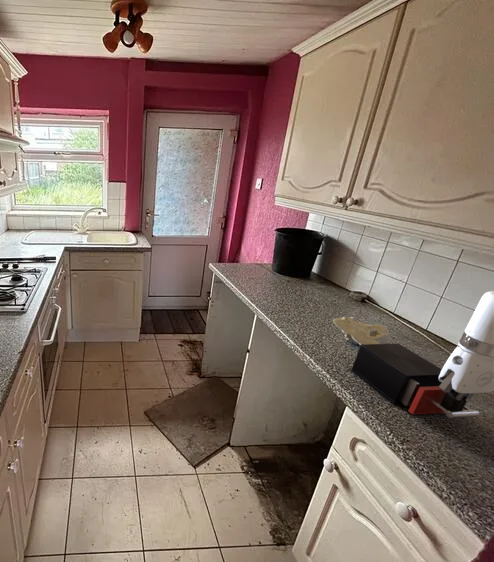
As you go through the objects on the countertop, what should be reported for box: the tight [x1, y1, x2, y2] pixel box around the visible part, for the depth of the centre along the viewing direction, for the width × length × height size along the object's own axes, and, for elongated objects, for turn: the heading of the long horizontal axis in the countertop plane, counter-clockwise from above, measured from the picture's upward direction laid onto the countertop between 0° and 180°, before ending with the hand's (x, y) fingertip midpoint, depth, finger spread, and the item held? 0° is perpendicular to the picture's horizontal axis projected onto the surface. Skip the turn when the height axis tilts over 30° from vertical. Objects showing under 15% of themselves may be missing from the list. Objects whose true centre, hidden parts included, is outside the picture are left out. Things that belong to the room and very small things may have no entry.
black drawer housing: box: [351, 343, 442, 406], centre depth 89 cm, size 15×13×10 cm
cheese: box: [332, 316, 391, 346], centre depth 110 cm, size 15×7×15 cm
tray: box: [398, 377, 480, 419], centre depth 82 cm, size 19×11×8 cm, turn 5°
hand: (450, 409), depth 76 cm, fingers closed
